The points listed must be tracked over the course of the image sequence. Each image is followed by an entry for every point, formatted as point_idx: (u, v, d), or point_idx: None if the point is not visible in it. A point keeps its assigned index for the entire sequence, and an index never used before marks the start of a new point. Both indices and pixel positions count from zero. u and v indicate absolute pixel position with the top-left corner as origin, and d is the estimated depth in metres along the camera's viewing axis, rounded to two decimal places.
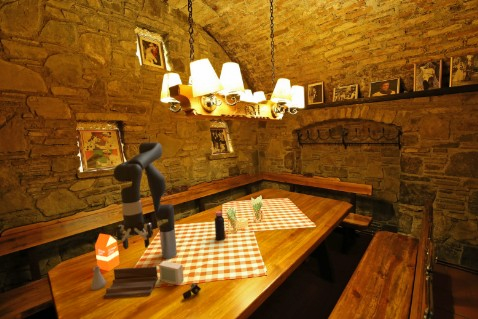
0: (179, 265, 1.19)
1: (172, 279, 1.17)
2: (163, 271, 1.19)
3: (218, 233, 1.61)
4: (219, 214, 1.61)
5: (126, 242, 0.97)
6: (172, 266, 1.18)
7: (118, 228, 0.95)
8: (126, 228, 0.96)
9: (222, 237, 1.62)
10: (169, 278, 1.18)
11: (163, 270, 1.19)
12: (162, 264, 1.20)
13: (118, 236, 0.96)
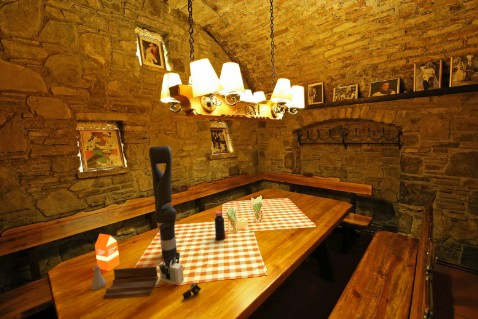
0: (179, 265, 1.19)
1: (172, 279, 1.17)
2: None
3: (218, 233, 1.61)
4: (219, 214, 1.61)
5: None
6: (172, 266, 1.18)
7: None
8: None
9: (222, 237, 1.62)
10: None
11: None
12: None
13: None
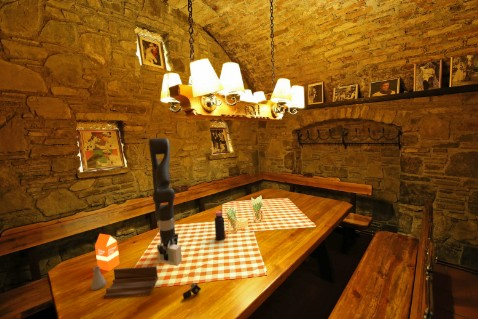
0: (177, 246, 1.17)
1: (170, 260, 1.16)
2: None
3: (218, 233, 1.61)
4: (219, 214, 1.61)
5: None
6: (170, 247, 1.17)
7: None
8: None
9: (222, 237, 1.62)
10: None
11: None
12: None
13: None
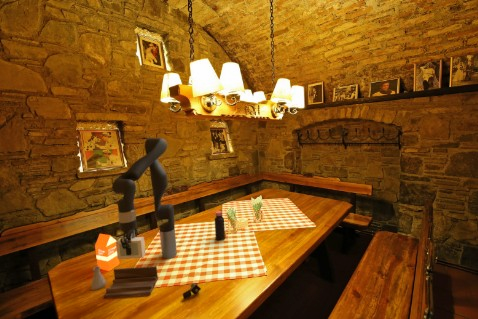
0: (141, 237, 1.14)
1: (134, 253, 1.12)
2: (122, 247, 1.11)
3: (218, 233, 1.61)
4: (219, 214, 1.61)
5: None
6: (133, 240, 1.12)
7: None
8: None
9: (222, 237, 1.62)
10: None
11: None
12: (120, 241, 1.12)
13: None
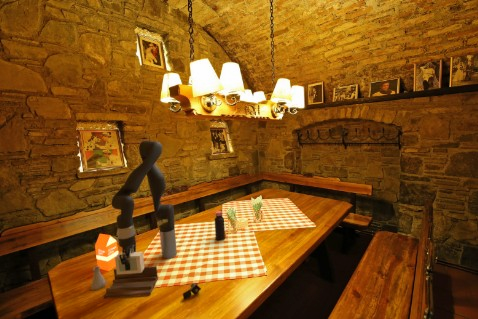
0: (139, 252, 1.15)
1: (133, 268, 1.12)
2: (121, 263, 1.12)
3: (218, 233, 1.61)
4: (219, 214, 1.61)
5: None
6: (132, 255, 1.13)
7: None
8: None
9: (222, 237, 1.62)
10: None
11: None
12: None
13: None
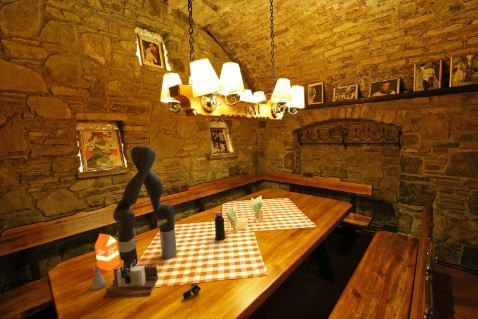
0: (141, 267, 1.16)
1: (134, 283, 1.14)
2: None
3: (218, 233, 1.61)
4: (219, 214, 1.61)
5: None
6: (133, 269, 1.14)
7: None
8: None
9: (222, 237, 1.62)
10: (130, 283, 1.13)
11: None
12: (120, 270, 1.14)
13: None
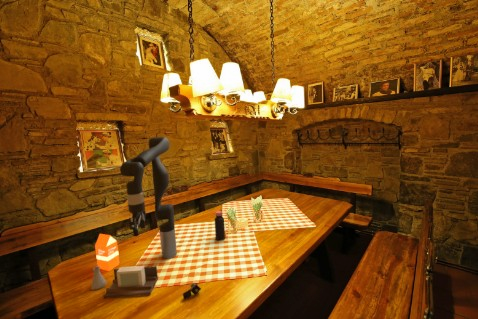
0: (141, 267, 1.16)
1: (134, 283, 1.14)
2: (122, 277, 1.13)
3: (218, 233, 1.61)
4: (219, 214, 1.61)
5: (141, 223, 1.20)
6: (133, 269, 1.14)
7: None
8: None
9: (222, 237, 1.62)
10: (130, 283, 1.13)
11: (122, 276, 1.13)
12: (120, 270, 1.14)
13: None
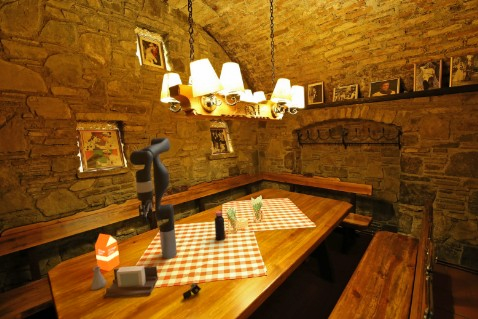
0: (141, 267, 1.16)
1: (134, 283, 1.14)
2: (122, 277, 1.13)
3: (218, 233, 1.61)
4: (219, 214, 1.61)
5: (149, 212, 1.22)
6: (133, 269, 1.14)
7: None
8: None
9: (222, 237, 1.62)
10: (130, 283, 1.13)
11: (122, 276, 1.13)
12: (120, 270, 1.14)
13: None
